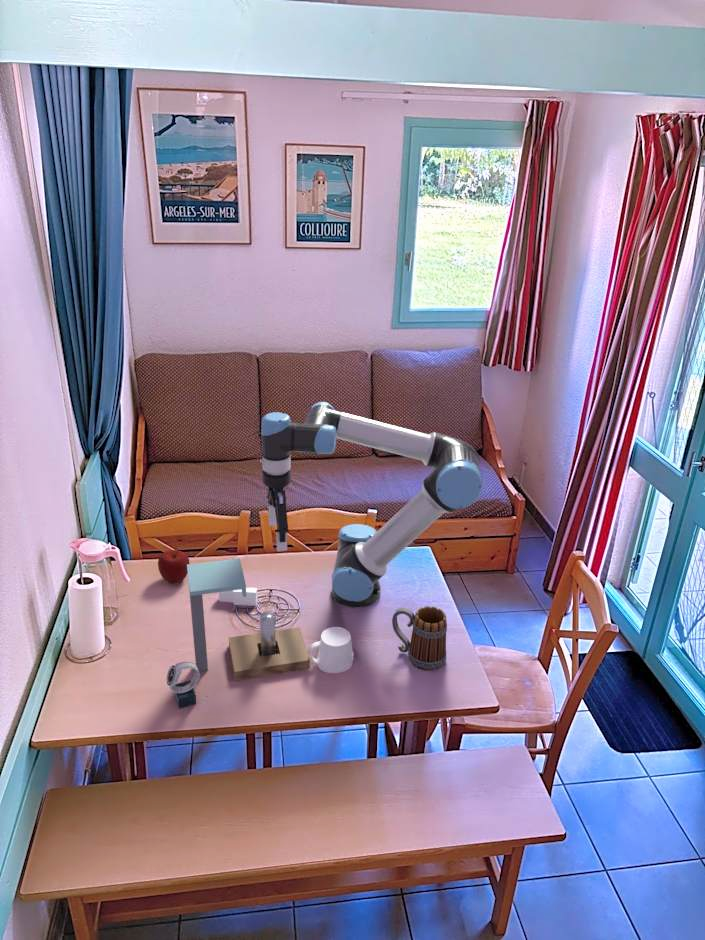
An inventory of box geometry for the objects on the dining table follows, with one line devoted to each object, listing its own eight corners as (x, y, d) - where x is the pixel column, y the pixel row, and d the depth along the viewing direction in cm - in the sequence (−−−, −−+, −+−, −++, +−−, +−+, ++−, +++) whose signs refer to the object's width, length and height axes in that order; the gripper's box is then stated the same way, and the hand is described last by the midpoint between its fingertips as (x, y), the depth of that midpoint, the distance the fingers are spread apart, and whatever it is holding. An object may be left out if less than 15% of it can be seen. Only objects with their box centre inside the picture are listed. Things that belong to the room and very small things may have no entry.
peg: (260, 653, 200) (258, 612, 194) (274, 651, 201) (273, 610, 195) (262, 663, 196) (261, 621, 190) (277, 660, 197) (276, 619, 191)
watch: (167, 695, 185) (163, 662, 180) (198, 687, 188) (195, 654, 183) (171, 711, 180) (167, 677, 175) (203, 702, 183) (200, 668, 178)
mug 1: (349, 624, 198) (356, 643, 191) (348, 651, 202) (355, 670, 195) (306, 630, 195) (312, 649, 188) (306, 657, 199) (311, 677, 192)
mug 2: (449, 651, 203) (454, 608, 196) (441, 676, 194) (446, 631, 187) (396, 638, 207) (399, 595, 201) (385, 661, 198) (388, 617, 192)
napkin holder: (268, 603, 221) (267, 588, 218) (239, 620, 213) (239, 604, 210) (235, 583, 229) (235, 568, 227) (207, 599, 222) (206, 584, 219)
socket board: (299, 635, 207) (299, 627, 206) (309, 668, 195) (309, 660, 194) (229, 646, 202) (228, 637, 201) (235, 680, 190) (234, 671, 189)
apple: (187, 589, 225) (184, 562, 220) (156, 588, 225) (153, 561, 221) (193, 572, 233) (191, 545, 229) (163, 571, 233) (161, 544, 229)
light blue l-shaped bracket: (244, 646, 202) (239, 558, 189) (249, 675, 192) (245, 584, 179) (194, 653, 199) (186, 564, 186) (197, 683, 189) (189, 591, 176)
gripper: (255, 451, 204) (257, 516, 213) (269, 492, 182) (271, 563, 192) (282, 449, 206) (283, 513, 215) (299, 489, 184) (299, 559, 194)
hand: (277, 537), depth 204 cm, fingers open, 13 cm apart
